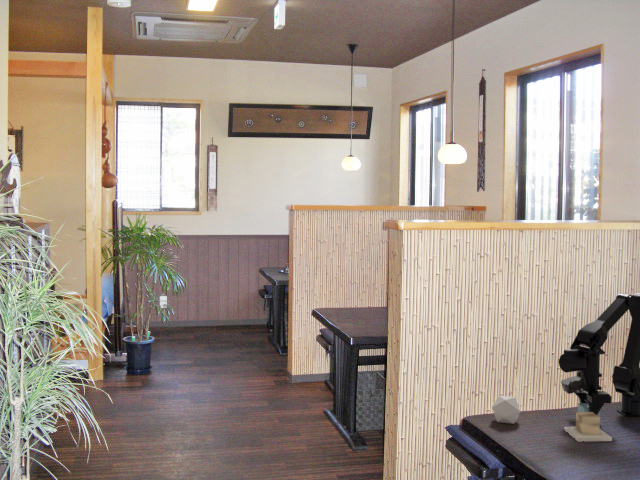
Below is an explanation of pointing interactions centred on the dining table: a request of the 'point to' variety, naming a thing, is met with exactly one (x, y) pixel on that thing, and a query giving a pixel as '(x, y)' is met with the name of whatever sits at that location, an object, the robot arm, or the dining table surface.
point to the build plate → (587, 435)
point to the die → (506, 409)
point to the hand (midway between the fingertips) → (588, 417)
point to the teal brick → (584, 408)
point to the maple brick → (587, 423)
